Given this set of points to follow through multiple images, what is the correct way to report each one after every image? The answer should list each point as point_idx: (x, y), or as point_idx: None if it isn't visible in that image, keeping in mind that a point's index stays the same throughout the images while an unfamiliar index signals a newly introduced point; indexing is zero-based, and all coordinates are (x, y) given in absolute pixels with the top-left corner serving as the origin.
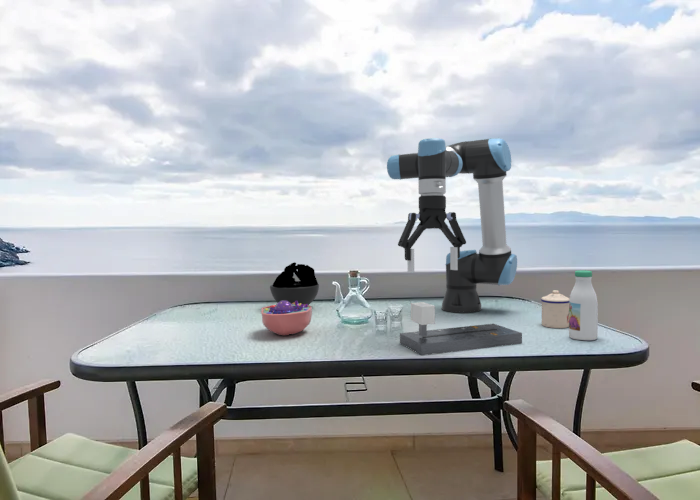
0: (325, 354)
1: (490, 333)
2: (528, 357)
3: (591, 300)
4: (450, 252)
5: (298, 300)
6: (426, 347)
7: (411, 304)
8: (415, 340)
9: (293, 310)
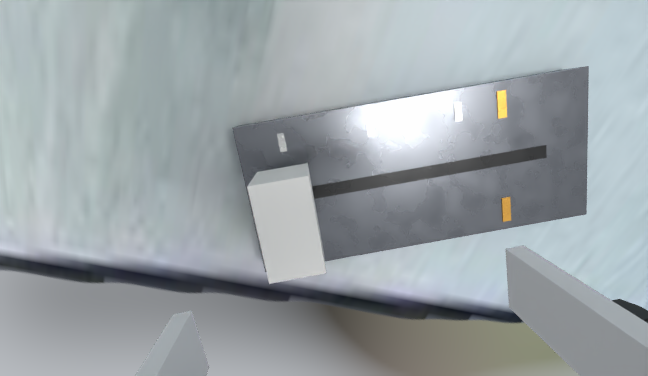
0: (5, 195)
1: (501, 199)
2: (499, 320)
3: None
4: (608, 326)
5: None
6: None
7: (249, 193)
8: None
9: None
